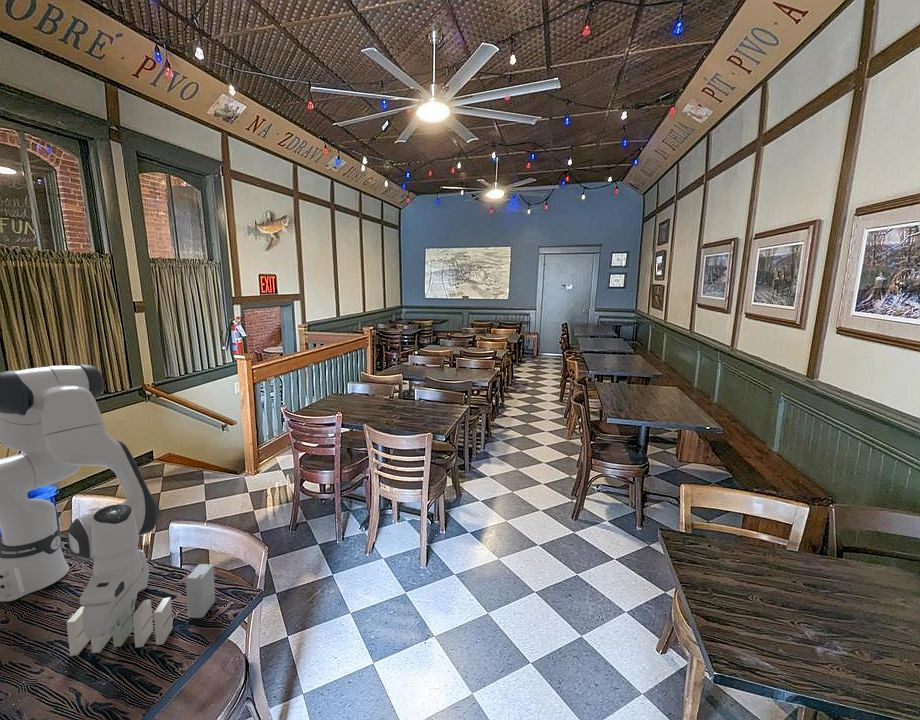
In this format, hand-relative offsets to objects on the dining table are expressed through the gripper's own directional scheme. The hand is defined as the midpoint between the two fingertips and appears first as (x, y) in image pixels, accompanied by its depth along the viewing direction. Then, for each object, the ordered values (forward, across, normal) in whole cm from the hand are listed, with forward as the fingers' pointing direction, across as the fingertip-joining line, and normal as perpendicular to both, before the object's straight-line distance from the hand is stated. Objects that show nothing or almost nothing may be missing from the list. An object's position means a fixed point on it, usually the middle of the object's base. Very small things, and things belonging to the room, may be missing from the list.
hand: (122, 623), depth 101 cm
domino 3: (+5, 0, +4) cm, 7 cm away
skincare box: (+5, -8, +15) cm, 18 cm away
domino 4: (+5, 0, +9) cm, 10 cm away
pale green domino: (+4, 0, 0) cm, 4 cm away
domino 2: (+5, 0, -4) cm, 7 cm away
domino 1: (+5, 0, -9) cm, 10 cm away
